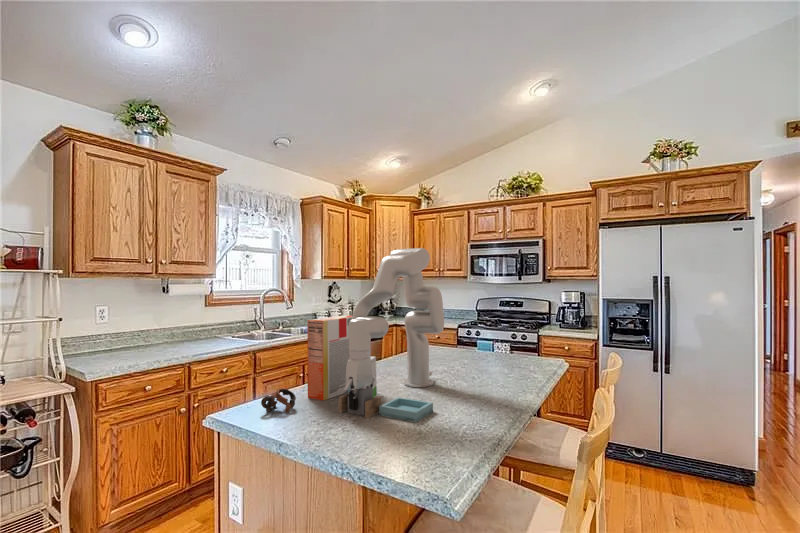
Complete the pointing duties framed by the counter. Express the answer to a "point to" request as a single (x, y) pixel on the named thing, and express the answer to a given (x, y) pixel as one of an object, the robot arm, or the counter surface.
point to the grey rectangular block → (362, 399)
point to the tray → (406, 409)
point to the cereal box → (327, 356)
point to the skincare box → (374, 376)
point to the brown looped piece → (280, 398)
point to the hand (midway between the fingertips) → (360, 406)
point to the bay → (370, 405)
